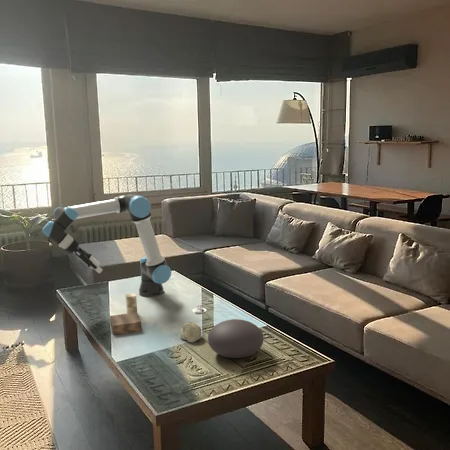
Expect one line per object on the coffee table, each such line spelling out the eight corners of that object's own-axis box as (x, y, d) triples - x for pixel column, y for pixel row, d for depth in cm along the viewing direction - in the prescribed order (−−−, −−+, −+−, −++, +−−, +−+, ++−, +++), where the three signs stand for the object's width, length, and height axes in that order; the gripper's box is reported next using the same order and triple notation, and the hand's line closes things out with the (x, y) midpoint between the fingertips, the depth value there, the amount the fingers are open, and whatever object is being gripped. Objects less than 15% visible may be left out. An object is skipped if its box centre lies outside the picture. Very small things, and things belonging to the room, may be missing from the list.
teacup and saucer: (199, 315, 270) (199, 308, 269) (188, 312, 274) (188, 305, 274) (209, 310, 276) (209, 303, 276) (198, 307, 281) (198, 300, 280)
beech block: (135, 312, 276) (134, 293, 273) (137, 315, 271) (136, 296, 269) (126, 313, 274) (125, 294, 272) (128, 316, 269) (127, 297, 267)
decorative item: (210, 329, 239) (196, 327, 232) (203, 346, 239) (189, 344, 232) (193, 320, 248) (179, 317, 240) (187, 336, 247) (173, 334, 240)
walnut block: (137, 321, 263) (136, 312, 262) (141, 330, 250) (141, 321, 249) (110, 324, 258) (109, 315, 257) (113, 335, 245) (113, 325, 244)
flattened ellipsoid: (246, 372, 205) (246, 338, 202) (197, 358, 218) (196, 326, 215) (273, 349, 226) (273, 318, 223) (226, 338, 239) (226, 308, 236)
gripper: (63, 244, 274) (93, 267, 282) (64, 254, 251) (97, 279, 258) (72, 234, 275) (102, 257, 282) (74, 243, 251) (106, 268, 259)
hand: (99, 268), depth 270 cm, fingers open, 13 cm apart
